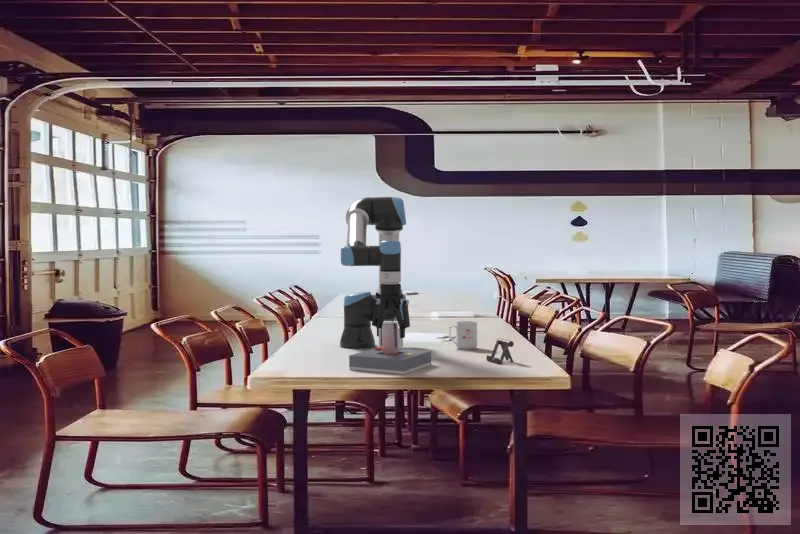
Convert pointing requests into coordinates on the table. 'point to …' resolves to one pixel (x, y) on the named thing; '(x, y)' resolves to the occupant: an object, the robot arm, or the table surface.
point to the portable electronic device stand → (506, 353)
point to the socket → (390, 361)
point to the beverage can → (390, 338)
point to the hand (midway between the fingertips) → (390, 346)
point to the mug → (465, 335)
